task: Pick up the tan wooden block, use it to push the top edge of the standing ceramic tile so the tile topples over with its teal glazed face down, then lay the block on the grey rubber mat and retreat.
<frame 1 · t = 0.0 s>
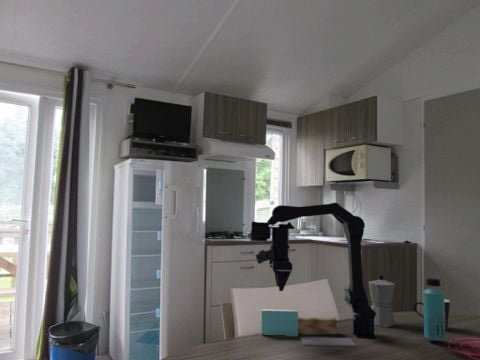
hand: (279, 288, 135), 15 cm above the table, tool pointing down, fingers open, 9 cm apart
coffee mug: (432, 327, 146), on the table
beverage bottle: (434, 342, 128), on the table
coffeepot: (382, 323, 150), on the table
tile: (279, 335, 132), on the table
tan wooden block: (315, 333, 135), on the table
mat: (327, 342, 125), on the table
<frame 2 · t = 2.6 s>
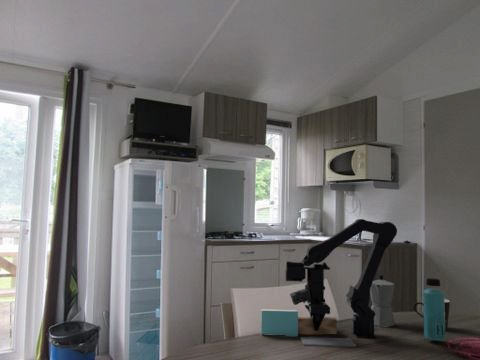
hand: (315, 329, 135), 1 cm above the table, tool pointing down, fingers closed on tan wooden block, 3 cm apart
tan wooden block: (315, 333, 135), on the table, touching gripper
everything else where it was.
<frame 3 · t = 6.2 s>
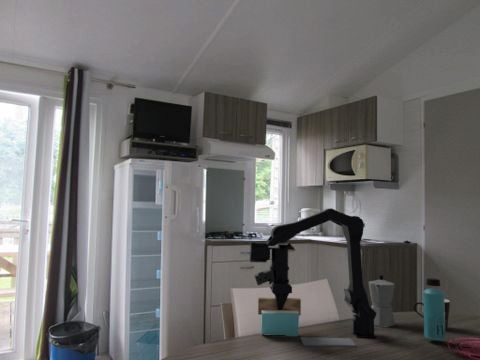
hand: (279, 310, 133), 8 cm above the table, tool pointing down, fingers closed on tan wooden block, 3 cm apart
tile: (279, 334, 132), on the table, tilted 17°
tan wooden block: (279, 314, 133), point 7 cm above the table, touching gripper
everything else where it was.
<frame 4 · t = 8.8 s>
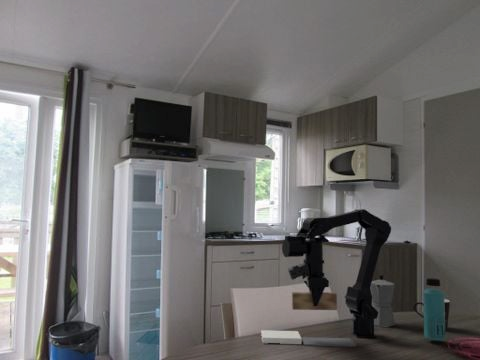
hand: (314, 305, 129), 11 cm above the table, tool pointing down, fingers closed on tan wooden block, 3 cm apart
tile: (279, 334, 131), point 1 cm above the table, tilted 90°
tan wooden block: (314, 308, 129), point 9 cm above the table, touching gripper
everything else where it was.
when the fingers open (3 cm above the table, at t = 11.2 s): tan wooden block drops 1 cm, resting on mat.
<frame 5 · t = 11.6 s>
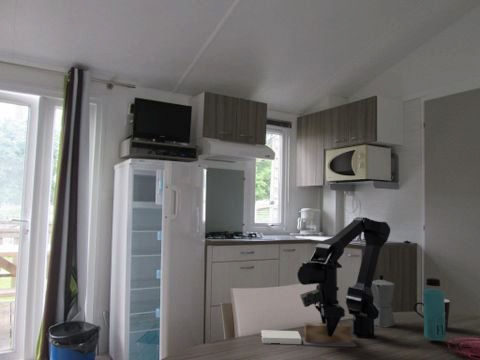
hand: (327, 333, 125), 3 cm above the table, tool pointing down, fingers open, 6 cm apart
tan wooden block: (327, 341, 125), resting on mat
everything else where it was.
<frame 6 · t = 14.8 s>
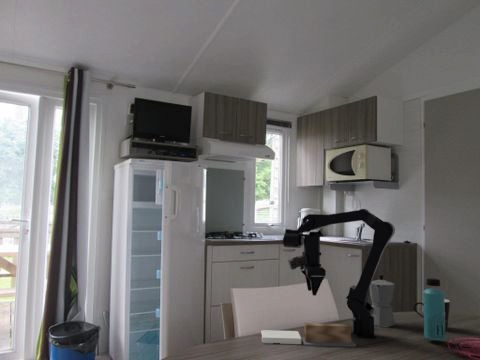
hand: (311, 292, 143), 12 cm above the table, tool pointing down, fingers open, 9 cm apart
nothing on the table moved.
at the end: tile tilted 90°; tan wooden block inside the target area on the mat (0.1 cm from its centre), point 0.4 cm above the mat's base; the gripper is holding nothing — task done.
